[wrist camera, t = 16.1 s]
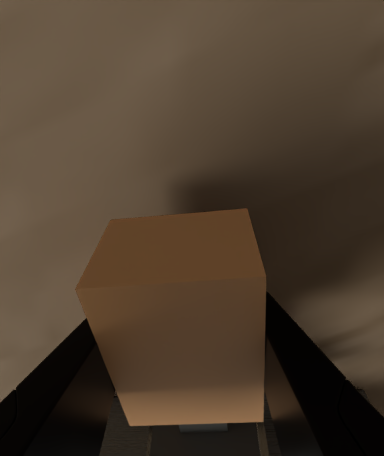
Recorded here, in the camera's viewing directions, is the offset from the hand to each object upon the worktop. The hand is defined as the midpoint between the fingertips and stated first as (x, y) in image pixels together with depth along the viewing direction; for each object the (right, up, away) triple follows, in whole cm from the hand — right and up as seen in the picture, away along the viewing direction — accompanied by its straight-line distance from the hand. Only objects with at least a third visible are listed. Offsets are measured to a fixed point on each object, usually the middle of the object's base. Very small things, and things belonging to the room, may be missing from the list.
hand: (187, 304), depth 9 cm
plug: (0, -2, +2) cm, 3 cm away
